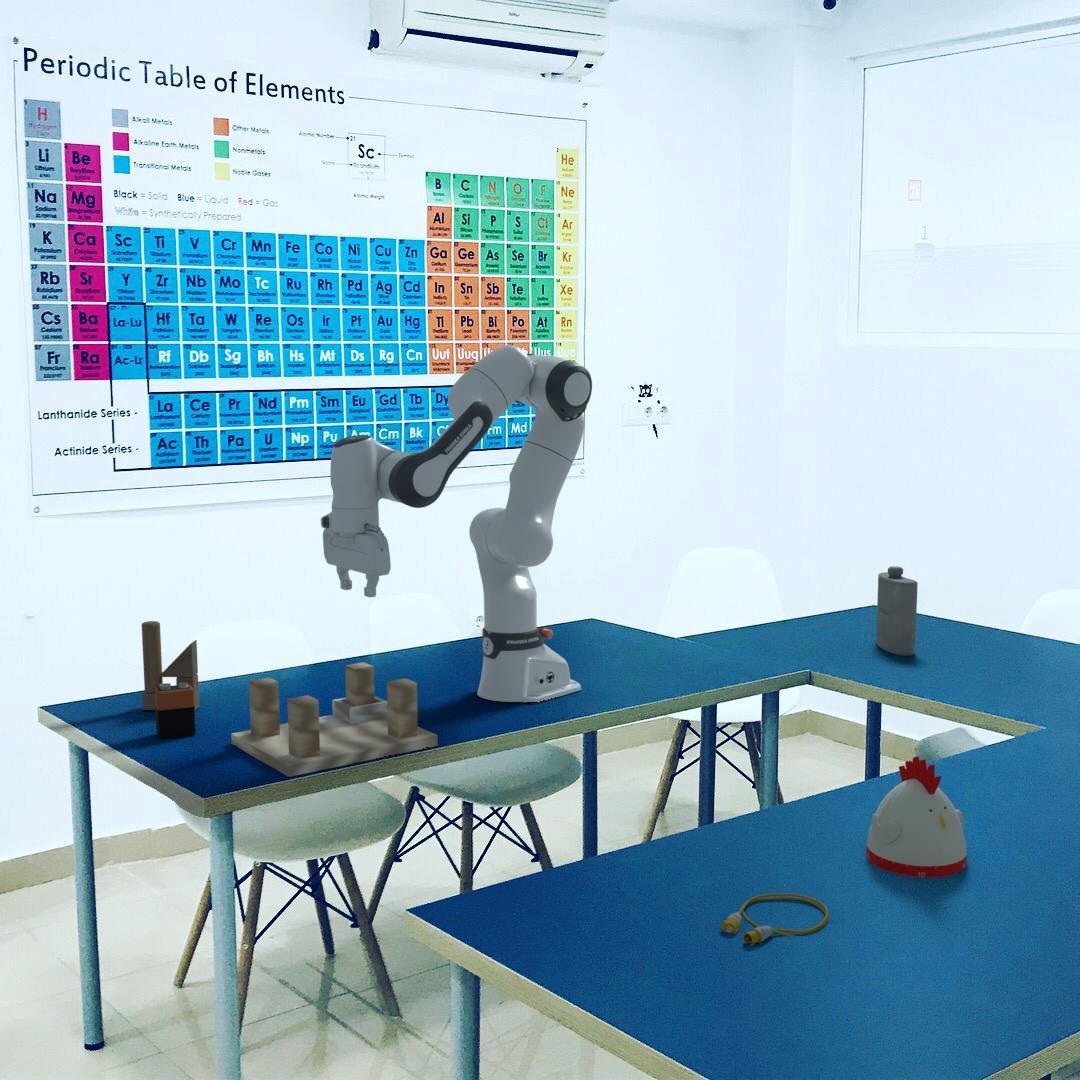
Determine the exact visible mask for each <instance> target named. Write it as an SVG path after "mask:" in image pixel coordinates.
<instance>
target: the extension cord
mask: <svg viewBox="0 0 1080 1080" xmlns="http://www.w3.org/2000/svg"><path fill="white" fill-rule="evenodd" d="M770 900H772V901H773V900H788V901H789V900H790V901H800V902H805V903H807V904H808V903H809V904H811V905H814V906H816V907H817V908H818V909H820V910H821V911H822V912H823V913H824V915H825V916H824V918H823V919H822V920H821V922H819V923H818V924H817V925H815V926H813V927H811V928H807V929H803V930H802V929H784V928H781V929H780V928H773V927H772V926H771V925H766V924H763V925H761V926H760V925H759V924H757V923H755V922H754V921H753V920H752V919H750V918H749V917H748V916H747V915H746V913H745V908H746V907H747V905H749V904H752V903H755V902H759V901H770ZM742 918H743V919H744V918H745V920H746V921H747V922H749V923H750V924H751V925H752V926H754V927H755V928H753V929H751V930H750V931H748V932H746V933H744V934H743V936H742V937H743V938H742V939H743V942H744V943H745V944H747V945H748V944H749V943H750V944H749V946H751V947H753V946H755V944H757V943H758V944H761V943H762V942H764V941H765V940H766V939H768V938H769V937H770V936H772V935H774V933H775V934H777V935H780V936H786V937H793V936H796V935H805V934H812V933H815V932H816V931H818V930H820V929H821V928H823V927H824V926H825V925H826V924H827V923H828V922H829V910H828V908H827V905H826V904H825V903H823V902H822V901H820V900H818V899H815V898H814V897H810V896H807V895H803V894H796V893H787V892H784V893H783V892H779V893H778V892H774V893H766V894H759V895H756V896H755V895H754V896H753V897H751V898H749V899H747V900H746V901H745V902H744V903H743V904H742V906H741V907H740V909H739V911H735V912H733V913H731V912H730V915H727V919H726V920H722V921H721V924H720V927H721V928H722V931H723V933H729V934H735V935H737V933H738V932H739V930H740V927H741V924H742ZM791 933H792V934H791ZM793 933H794V934H793Z"/></svg>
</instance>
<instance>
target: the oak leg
mask: <svg viewBox="0 0 1080 1080" xmlns="http://www.w3.org/2000/svg"><path fill="white" fill-rule="evenodd" d="M374 667H375V666H374V665H372V664H369V663H366V662H357V663H351V664H345V670H344V671H345V698H346V703H347V704H349V705H351V706H354V707H355V706H361V705H366V704H372V703H374V696H375V668H374Z"/></svg>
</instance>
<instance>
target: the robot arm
mask: <svg viewBox="0 0 1080 1080" xmlns="http://www.w3.org/2000/svg"><path fill="white" fill-rule="evenodd" d="M592 390H593V380H592V376H591V374H590V372H589V370H588V369H587V368H586V367H584V366H583V365H582V364H580V363H578V362H577V361H574V360H567V359H564V358H561V357H559V356H558V357H557V356H555V355H542V354H541V355H539V354H532V353H527V352H526V351H524V350H522V349H521V348H520V347H518V346H516V345H512V344H504V345H501V346H498V348H495V349H494V350H492V351H491V352H489V353H488V354H486V355H484V356H483V357H482V358H481V359H480V360H478V361H477V362H476V363H474V365H472V366H471V367H470V368H469V369H468V370H466V371H465V372H464V373H463V374H462V375H461V376H460V377H459V378H458V379H457V380H456V382H455V383H454V384H453V385H452V387H451V388H450V390H449V392H448V395H447V404H448V409H449V413H451V415H452V417H453V419H452V421H451V423H450V424H449V425H448V426H447V427H446V429H445V430H443V432H441V434H440V435H439V436H438V437H437V439H435V440H434V441H433V443H432V444H431V445H430V446H428V447H427V448H425V449H424V450H421V451H418V452H407V451H406V452H405V451H401V450H397V449H395V448H392V447H389V446H386V445H384V444H382V443H380V442H379V441H377V440H376V439H374V438H373V437H372V436H371V435H368V434H358V435H351V436H347V437H343V438H340V439H339V440H338V441H336V442H335V443H334V444H333V446H332V449H331V455H330V487H331V490H332V495H333V497H332V501H331V511H330V512H329V513H327V514H326V515H323V516H321V518H320V525H321V528H322V529H323V531H322V545H323V548H322V549H323V555H324V559H325V562H326V563H327V564H328V565H331V566H335V567H336V568H335V569H336V573H337V577H338V579H339V582H340V589H341V590H343V591H349V590H352V589H353V581H352V580H351V579H350V573H349V571H353V572H356V573H361V574H364V575H365V580H367V581H366V586H365V587H363V592H364V593H363V595H364V597H367V598H374V597H376V596H377V587H378V584H379V582H380V581H379V580H380V577H381V576H382V577H383V576H387V575H389V574H390V573H391V572H390V571H391V570H392V569H391V568H392V565H391V556H390V546H389V542H388V541H389V540H388V539H387V536H385V533H384V532H383V531H382V529H381V527H380V515H379V513H380V512H379V509H380V508H379V501H380V500H382V499H385V500H389V501H391V502H396V503H401V504H403V505H405V506H408V507H411V508H412V509H413V508H415V509H420V508H421V509H423V508H426V507H429V506H431V505H432V504H434V503H435V502H437V500H438V499H439V498H440V496H441V495H442V493H443V491H444V490H445V488H446V484H447V482H448V481H449V479H450V477H451V475H452V473H453V472H454V471H455V469H457V467H459V465H460V464H461V463H462V462H463V461H464V459H465V458H466V457H468V455H469V454H470V453H471V451H472V450H473V449H474V448H475V447H476V446H477V445H478V444H479V443H480V441H482V439H483V438H484V437H485V435H486V434H487V433H488V431H489V429H490V428H491V426H492V425H493V424H494V423H495V422H496V421H497V420H498V419H499V418H500V417H501V416H502V415H503V414H504V413H505V412H506V411H507V410H508V409H510V407H511V406H512V405H514V403H515V402H516V403H517V404H519V405H526V406H527V407H531V408H532V409H534V414H535V416H534V422H533V425H532V426H531V428H530V430H529V432H528V434H527V436H526V437H525V440H524V442H523V444H522V446H521V449H520V451H519V453H518V456H517V457H516V460H515V461H514V464H513V466H512V468H511V471H510V472H509V477H508V478H509V491H508V498H507V502H506V504H505V505H506V506H505V508H504V507H493V508H488V509H485V510H482V511H480V512H479V513H477V514H476V515H475V516H474V517H473V519H472V520H471V522H470V525H469V529H468V533H469V539H470V542H471V543H472V545H473V548H474V550H475V554H476V559H477V564H478V569H479V574H480V578H481V583H482V589H483V617H484V618H483V621H484V622H483V623H484V625H483V628H482V635H481V637H482V638H481V639H482V641H481V642H482V643H481V645H482V654H483V660H482V668H481V674H480V675H481V677H480V682H479V686H478V690H477V691H476V693H477V694H476V695H477V696H478V697H479V698H482V699H485V700H490V701H492V702H493V701H495V702H504V703H505V702H506V703H527V702H538V703H541V702H540V701H542V702H544V701H543V700H545V701H549V700H552V699H555V697H556V698H558V697H563V696H565V695H570V694H572V693H575V692H579V691H581V690H582V686H581V684H580V683H579V682H578V681H576V680H575V679H572V678H571V674H570V672H571V671H570V668H569V664H568V662H567V661H566V659H565V658H563V656H561V655H560V654H558V653H557V652H555V651H554V650H553V649H551V647H549V646H548V645H546V644H545V642H544V639H543V638H545V639H547V640H550V639H552V637H553V636H554V632H553V630H552V629H550V628H549V629H548V628H540V627H539V626H538V625H537V624H538V623H537V622H538V616H537V615H538V612H537V611H538V607H537V606H538V602H537V601H538V600H537V598H538V596H537V590H536V587H535V584H534V583H533V580H532V577H531V574H530V570H529V568H532V567H537V566H539V565H541V564H543V563H544V562H546V560H548V558H549V556H550V555H551V553H552V550H553V546H554V538H553V535H552V533H553V532H552V525H553V520H554V519H553V518H554V514H555V510H556V506H557V501H558V498H559V496H560V493H561V492H562V491H561V490H562V488H563V486H564V484H565V482H566V479H567V477H568V474H569V473H570V469H571V467H572V465H573V463H574V461H575V459H576V456H577V454H578V451H579V448H580V445H581V443H582V438H583V435H584V432H585V431H584V430H585V427H586V419H585V417H584V415H583V413H585V411H586V409H587V406H588V404H589V402H590V399H591V396H592ZM551 698H552V699H551ZM548 699H549V700H548Z"/></svg>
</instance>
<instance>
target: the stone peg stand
mask: <svg viewBox="0 0 1080 1080" xmlns="http://www.w3.org/2000/svg"><path fill="white" fill-rule="evenodd" d="M279 687H280V686H279V681H278V680H275V679H273V678H271V677H264V678H258V679H251V680H248V693H249V694H248V695H249V718H250V720H249V721H250V729H249V730H243V731H238V732H232V733H231V745H233V746H234V745H235V747H236V746H237V747H236V748H238V749H240V750H242V751H243V752H244V753H247V754H248V755H250V756H252V757H253V758H255V759H257V760H259V761H261V762H263V763H264V764H266V765H268V766H269V767H271V768H273V769H275V770H276V771H278V772H280V773H282V774H284V775H285V776H287V777H288V778H289V777H294V776H300V775H305V774H309V773H314V772H318V771H323V770H328V769H333V768H337V767H342V766H347V765H352V764H356V763H357V764H358V763H361V762H366V761H372V760H377V759H381V758H385V757H384V756H386V757H389V755H391V756H396V755H399V754H403V753H409V752H413V751H419V750H423V748H424V749H427V748H426V747H429V748H433V747H438V745H439V744H438V742H439V741H438V735H437V734H435V733H433V732H431V731H429V730H426V729H424V728H422V727H419V726H418V724H419V723H418V682H416V681H413V680H410V679H409V678H401V679H400V678H399V679H393V680H389V681H386V697H387V698H386V699H387V700H384V699H383V698H381V697H378V696H375V695H374V703H372V704H366V705H361V706H355V707H354V706H351V705H349V704H347V703H346V697H341V698H335V699H331V702H332V704H331V706H332V714H330V715H324V716H320V707H319V706H320V705H319V703H320V701H319V699H317V698H315V697H313V696H311V695H308V694H307V695H306V694H305V695H303V696H297V697H290V698H287V702H286V704H287V722H286V723H281V721H280V692H279V691H280V690H279ZM395 754H396V755H395ZM380 757H381V758H380ZM376 758H377V759H376Z"/></svg>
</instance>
